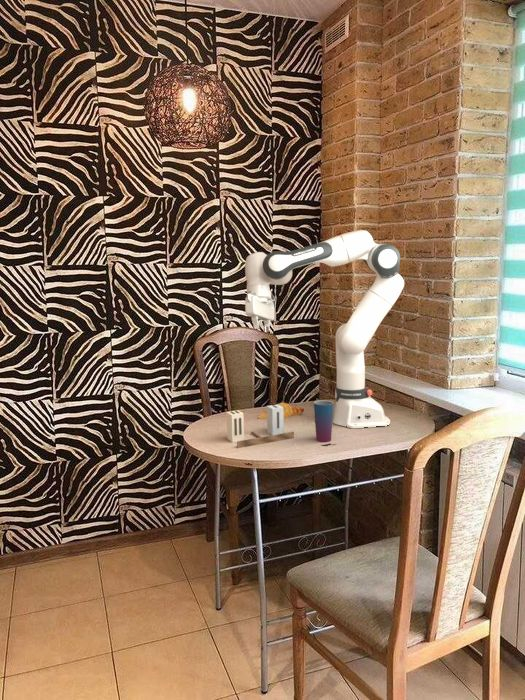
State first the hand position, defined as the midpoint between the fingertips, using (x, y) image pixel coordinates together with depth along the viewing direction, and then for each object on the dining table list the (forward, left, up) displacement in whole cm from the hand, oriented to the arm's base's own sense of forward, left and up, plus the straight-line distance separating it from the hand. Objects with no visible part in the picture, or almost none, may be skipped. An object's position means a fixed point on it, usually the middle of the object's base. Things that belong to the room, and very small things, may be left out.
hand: (261, 330), depth 212 cm
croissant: (-6, -13, -39) cm, 41 cm away
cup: (-22, +20, -38) cm, 49 cm away
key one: (-5, +12, -37) cm, 39 cm away
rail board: (+1, +18, -38) cm, 42 cm away
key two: (+9, +20, -37) cm, 43 cm away
